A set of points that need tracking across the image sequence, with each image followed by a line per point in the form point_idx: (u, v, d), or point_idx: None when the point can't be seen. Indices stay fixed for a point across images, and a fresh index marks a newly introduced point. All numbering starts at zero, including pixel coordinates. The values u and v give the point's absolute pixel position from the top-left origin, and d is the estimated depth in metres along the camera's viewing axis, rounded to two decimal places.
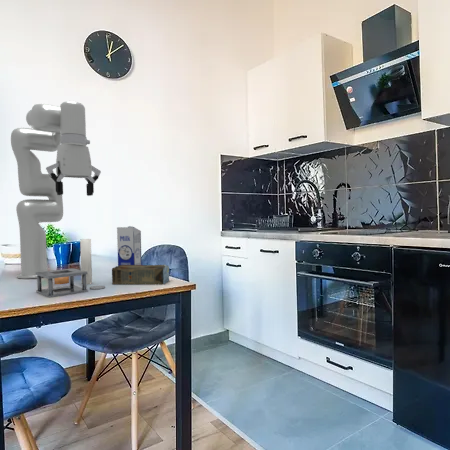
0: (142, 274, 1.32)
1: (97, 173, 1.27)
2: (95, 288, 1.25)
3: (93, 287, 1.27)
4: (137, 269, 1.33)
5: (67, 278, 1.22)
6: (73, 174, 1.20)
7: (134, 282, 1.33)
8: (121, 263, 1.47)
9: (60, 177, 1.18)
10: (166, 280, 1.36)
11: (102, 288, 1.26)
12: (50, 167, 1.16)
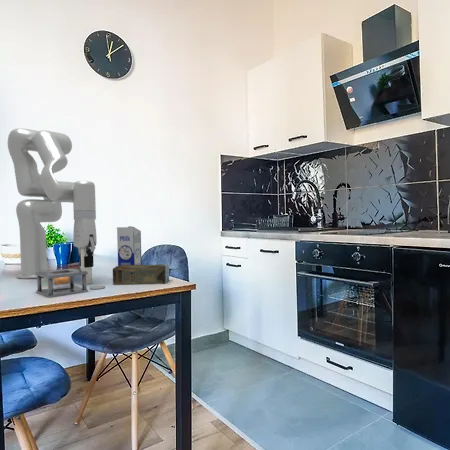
0: (144, 274, 1.33)
1: None
2: (95, 288, 1.25)
3: (93, 287, 1.27)
4: (139, 269, 1.33)
5: (67, 278, 1.22)
6: None
7: (135, 282, 1.33)
8: (121, 263, 1.47)
9: None
10: (167, 279, 1.37)
11: (102, 288, 1.26)
12: None
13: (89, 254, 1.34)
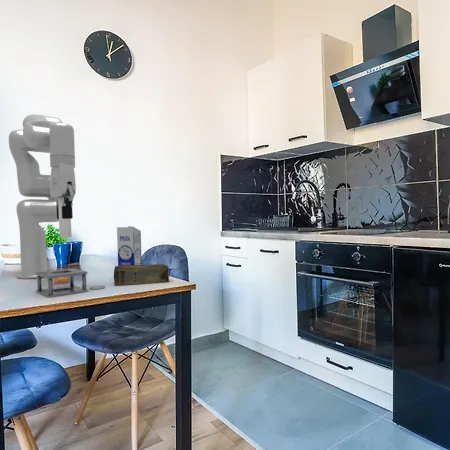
0: (147, 273, 1.34)
1: None
2: (95, 288, 1.25)
3: (93, 287, 1.27)
4: (142, 269, 1.33)
5: (67, 278, 1.22)
6: None
7: (139, 282, 1.33)
8: (121, 263, 1.47)
9: None
10: None
11: (102, 288, 1.26)
12: None
13: (67, 204, 1.21)
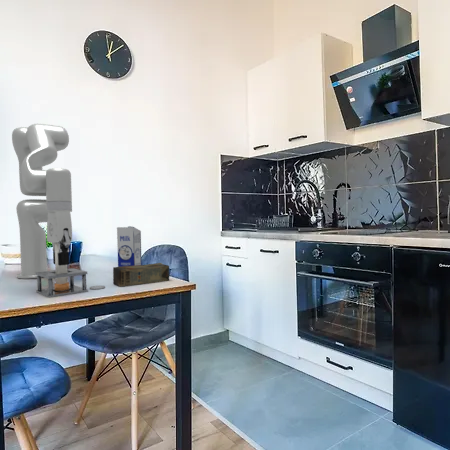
0: (150, 273, 1.35)
1: None
2: (95, 288, 1.25)
3: (93, 287, 1.27)
4: (145, 268, 1.34)
5: (67, 284, 1.22)
6: None
7: (143, 282, 1.33)
8: (121, 263, 1.47)
9: None
10: None
11: (102, 288, 1.26)
12: None
13: (64, 250, 1.19)
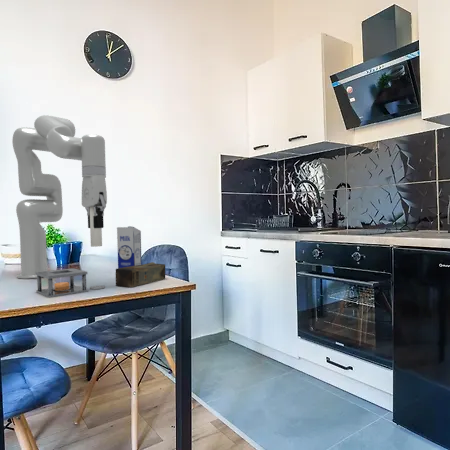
0: (153, 272, 1.37)
1: None
2: (95, 288, 1.25)
3: (93, 287, 1.27)
4: (149, 268, 1.35)
5: (67, 284, 1.22)
6: None
7: (147, 281, 1.34)
8: (121, 263, 1.47)
9: None
10: None
11: (102, 288, 1.26)
12: None
13: (99, 213, 1.24)
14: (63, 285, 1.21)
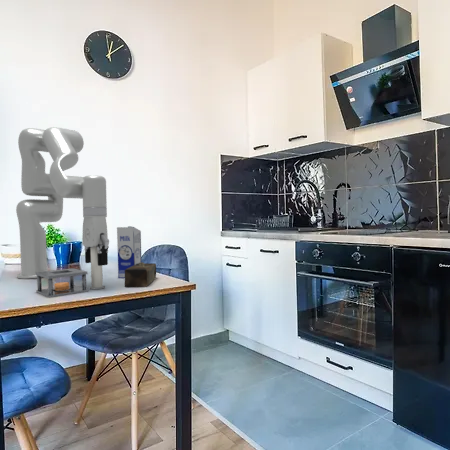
0: (153, 271, 1.39)
1: None
2: (95, 288, 1.25)
3: None
4: (151, 267, 1.37)
5: (67, 284, 1.22)
6: None
7: (151, 280, 1.36)
8: (121, 263, 1.47)
9: None
10: None
11: (102, 288, 1.26)
12: None
13: None
14: (63, 285, 1.21)
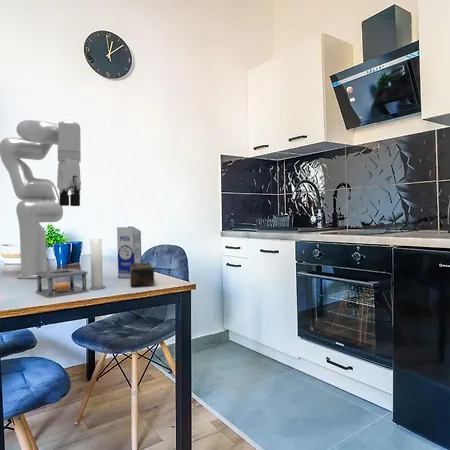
0: None
1: None
2: (95, 288, 1.25)
3: None
4: (151, 267, 1.38)
5: (67, 284, 1.22)
6: None
7: None
8: (121, 263, 1.47)
9: None
10: None
11: (102, 288, 1.26)
12: None
13: None
14: (63, 285, 1.21)
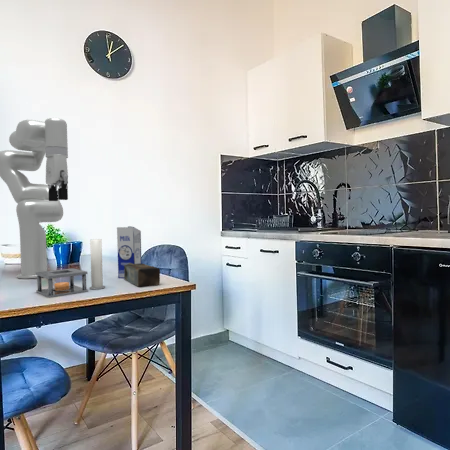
0: None
1: None
2: (95, 288, 1.25)
3: None
4: None
5: (67, 284, 1.22)
6: None
7: None
8: (121, 263, 1.47)
9: None
10: None
11: (102, 288, 1.26)
12: None
13: None
14: (63, 285, 1.21)
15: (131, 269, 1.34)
